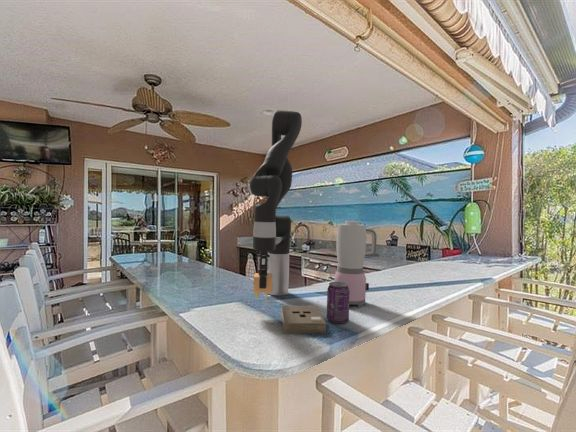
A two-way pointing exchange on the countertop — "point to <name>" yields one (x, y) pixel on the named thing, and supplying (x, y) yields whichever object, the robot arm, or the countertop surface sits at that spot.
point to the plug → (266, 290)
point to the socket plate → (302, 320)
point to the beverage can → (338, 302)
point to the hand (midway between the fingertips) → (262, 285)
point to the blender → (353, 258)
